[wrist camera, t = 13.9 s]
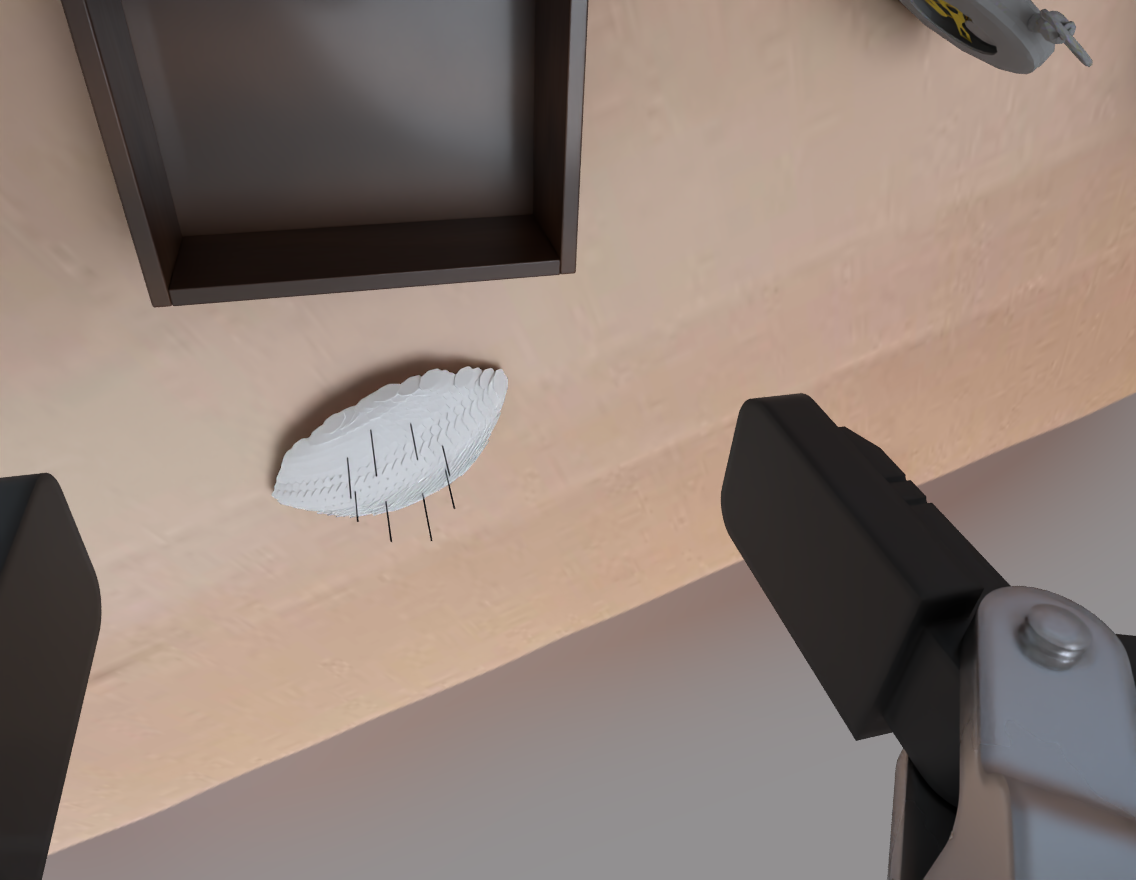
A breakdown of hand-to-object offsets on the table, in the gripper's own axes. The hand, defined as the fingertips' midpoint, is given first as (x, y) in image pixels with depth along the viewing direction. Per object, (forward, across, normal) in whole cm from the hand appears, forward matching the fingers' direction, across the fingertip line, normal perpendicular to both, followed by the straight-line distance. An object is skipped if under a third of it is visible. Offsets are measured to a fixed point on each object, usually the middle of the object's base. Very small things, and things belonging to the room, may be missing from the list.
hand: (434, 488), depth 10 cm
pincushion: (+24, 0, +16) cm, 28 cm away
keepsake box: (+23, 0, -2) cm, 23 cm away
